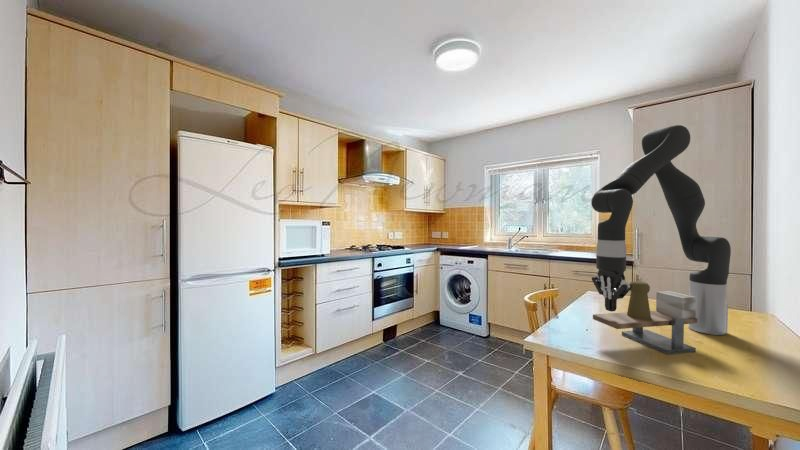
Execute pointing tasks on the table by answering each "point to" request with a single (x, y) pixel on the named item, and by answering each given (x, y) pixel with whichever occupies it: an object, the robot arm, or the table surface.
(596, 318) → the balance beam
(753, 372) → the table surface
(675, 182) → the robot arm
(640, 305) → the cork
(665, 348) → the beam stand
